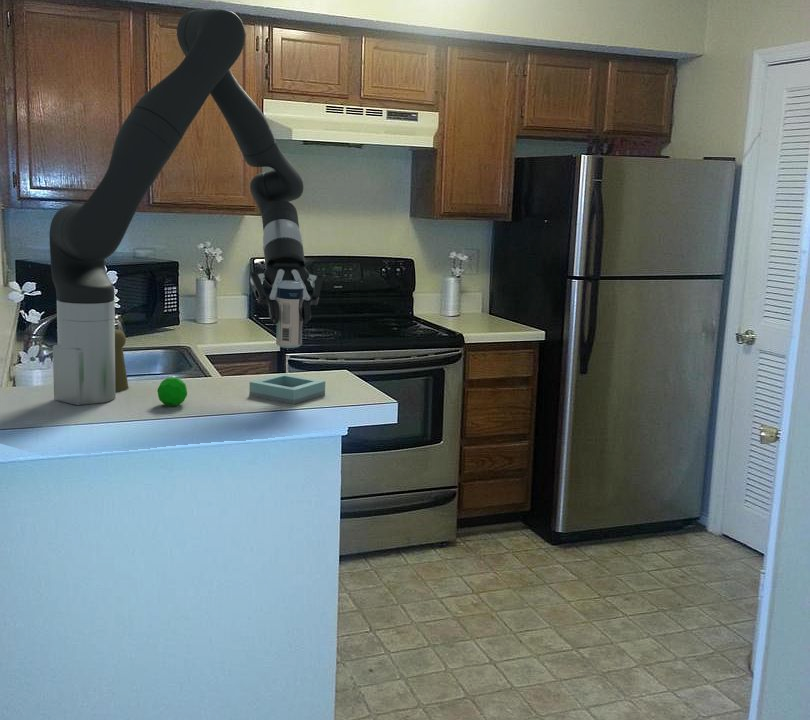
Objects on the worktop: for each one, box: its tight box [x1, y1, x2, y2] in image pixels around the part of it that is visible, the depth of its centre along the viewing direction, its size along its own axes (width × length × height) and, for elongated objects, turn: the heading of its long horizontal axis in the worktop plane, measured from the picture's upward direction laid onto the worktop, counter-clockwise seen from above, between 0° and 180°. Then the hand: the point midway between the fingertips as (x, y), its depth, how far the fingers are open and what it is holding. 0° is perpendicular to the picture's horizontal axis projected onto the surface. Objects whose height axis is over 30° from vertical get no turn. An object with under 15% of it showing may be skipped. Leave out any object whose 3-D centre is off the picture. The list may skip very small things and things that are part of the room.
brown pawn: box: [115, 328, 129, 393], centre depth 152 cm, size 6×6×11 cm
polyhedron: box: [156, 376, 188, 407], centre depth 143 cm, size 5×5×5 cm
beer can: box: [275, 280, 304, 349], centre depth 153 cm, size 5×5×12 cm
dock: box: [248, 373, 326, 405], centre depth 155 cm, size 10×10×3 cm
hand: (291, 320), depth 151 cm, fingers closed on beer can, 4 cm apart
